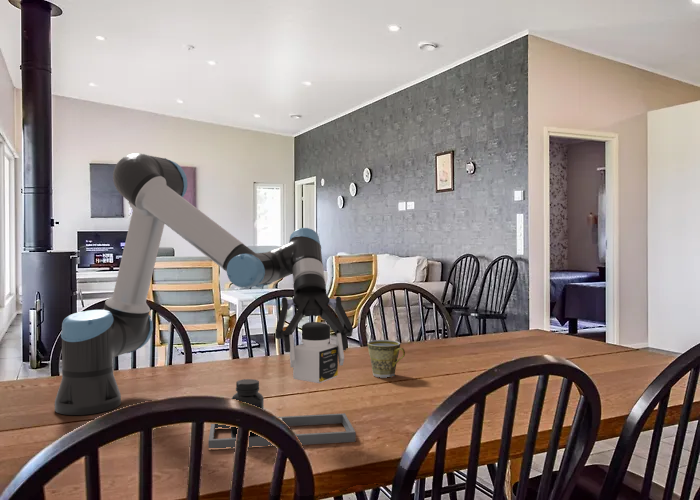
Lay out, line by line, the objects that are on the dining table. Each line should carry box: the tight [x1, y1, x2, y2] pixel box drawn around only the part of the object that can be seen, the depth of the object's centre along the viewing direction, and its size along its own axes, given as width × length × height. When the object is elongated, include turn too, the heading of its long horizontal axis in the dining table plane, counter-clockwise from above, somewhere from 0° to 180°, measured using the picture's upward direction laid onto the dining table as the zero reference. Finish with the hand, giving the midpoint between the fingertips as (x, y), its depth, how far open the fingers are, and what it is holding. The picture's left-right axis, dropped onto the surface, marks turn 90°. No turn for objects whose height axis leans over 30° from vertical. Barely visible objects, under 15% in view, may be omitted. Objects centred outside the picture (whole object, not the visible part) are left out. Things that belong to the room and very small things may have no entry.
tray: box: [207, 412, 357, 449], centre depth 128 cm, size 30×13×2 cm, turn 100°
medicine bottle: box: [292, 321, 339, 384], centre depth 129 cm, size 7×7×12 cm
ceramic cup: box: [367, 339, 406, 379], centre depth 181 cm, size 13×10×10 cm
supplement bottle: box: [230, 378, 264, 438], centre depth 127 cm, size 7×7×12 cm
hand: (317, 362), depth 126 cm, fingers closed on medicine bottle, 10 cm apart
